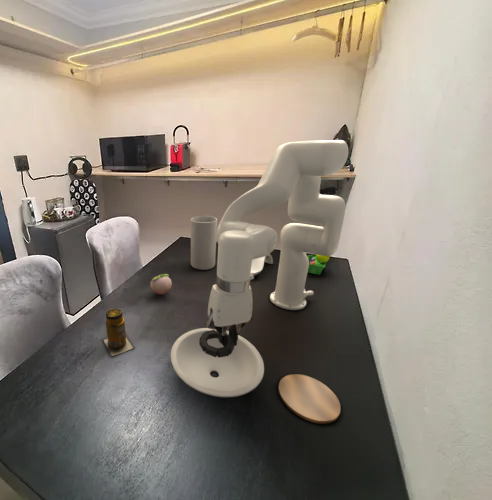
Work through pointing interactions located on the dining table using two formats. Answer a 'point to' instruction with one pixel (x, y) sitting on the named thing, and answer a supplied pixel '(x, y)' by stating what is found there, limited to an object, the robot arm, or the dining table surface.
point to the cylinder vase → (203, 242)
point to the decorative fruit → (161, 284)
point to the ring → (212, 350)
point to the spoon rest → (260, 264)
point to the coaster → (309, 398)
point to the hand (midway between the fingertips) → (227, 342)
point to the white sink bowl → (217, 365)
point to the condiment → (116, 333)
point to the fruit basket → (317, 263)
